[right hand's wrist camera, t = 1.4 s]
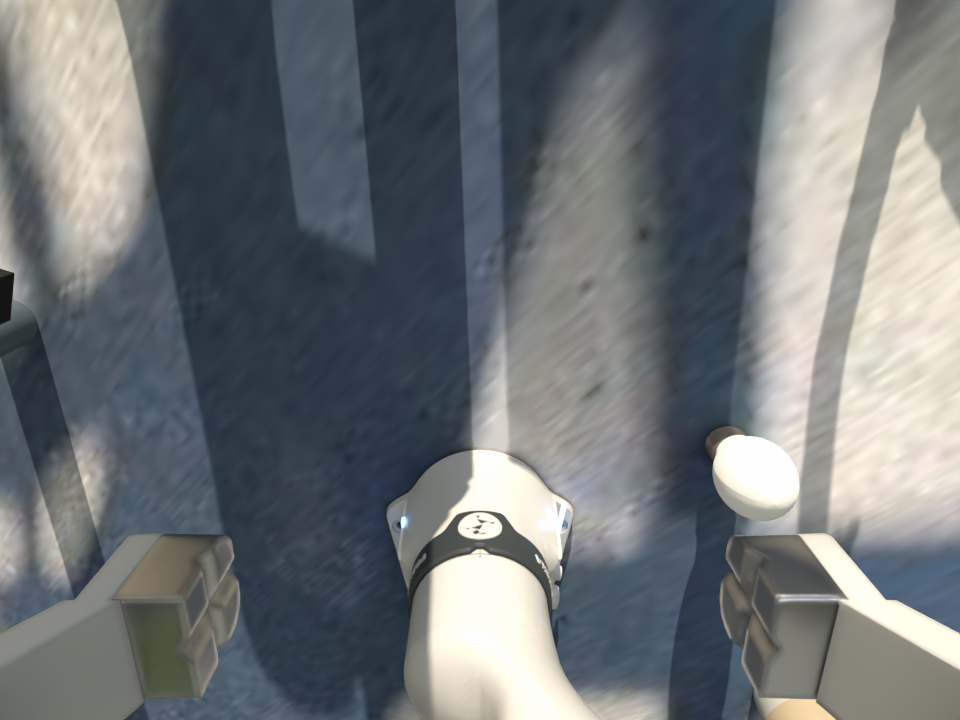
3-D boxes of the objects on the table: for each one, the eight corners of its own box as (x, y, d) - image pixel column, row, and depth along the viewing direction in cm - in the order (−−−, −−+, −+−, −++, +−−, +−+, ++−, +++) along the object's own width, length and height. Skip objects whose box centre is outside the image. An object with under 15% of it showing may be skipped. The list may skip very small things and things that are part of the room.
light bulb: (686, 469, 65) (725, 536, 54) (700, 407, 62) (744, 465, 52) (753, 474, 65) (804, 542, 54) (770, 413, 62) (827, 472, 52)
